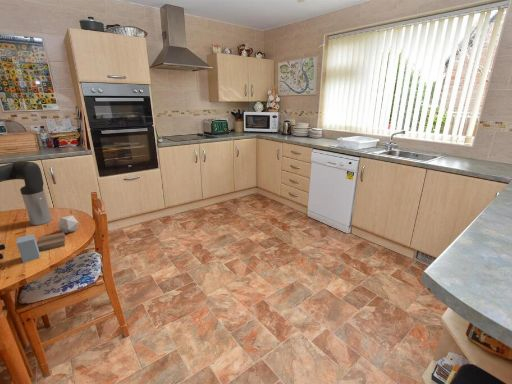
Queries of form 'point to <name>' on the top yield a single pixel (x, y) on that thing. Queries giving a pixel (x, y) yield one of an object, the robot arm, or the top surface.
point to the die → (68, 224)
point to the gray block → (28, 248)
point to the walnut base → (51, 241)
